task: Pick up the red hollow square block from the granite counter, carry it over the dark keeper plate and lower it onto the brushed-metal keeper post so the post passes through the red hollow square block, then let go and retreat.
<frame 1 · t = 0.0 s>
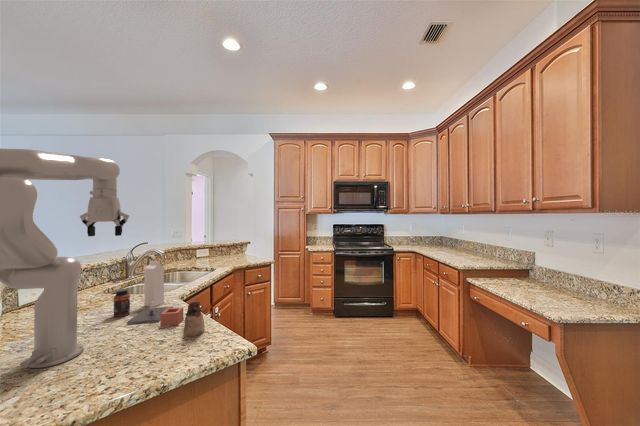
hand: (105, 235, 106), 37 cm above the counter, tool pointing down, fingers open, 9 cm apart
keeper: (151, 315, 116), on the counter
supplement bottle: (122, 315, 117), on the counter
red hollow square block: (172, 322, 108), on the counter
milk: (154, 304, 131), on the counter
figurine: (194, 333, 98), on the counter
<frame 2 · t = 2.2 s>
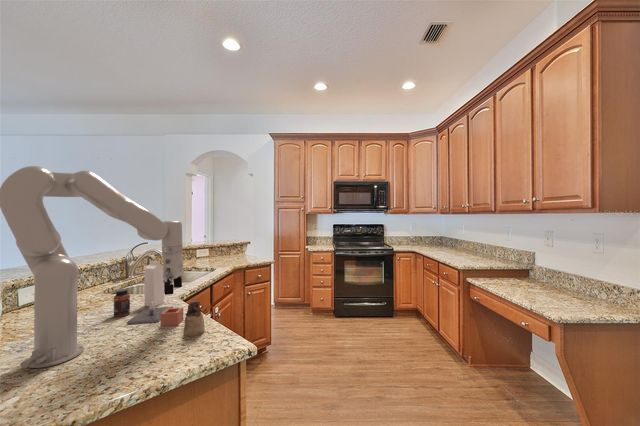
hand: (173, 290, 109), 13 cm above the counter, tool pointing down, fingers open, 9 cm apart
nothing on the counter moved.
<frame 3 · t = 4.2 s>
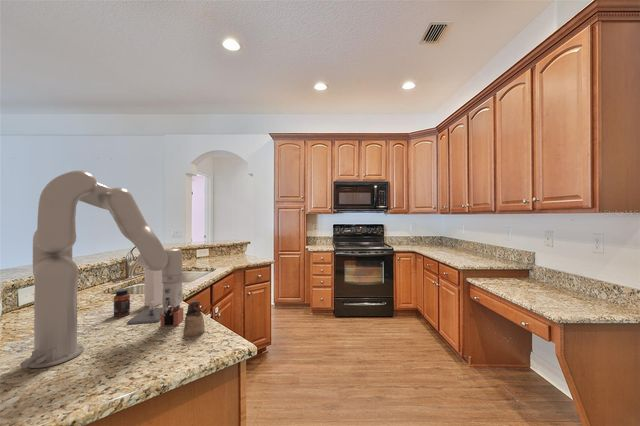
hand: (172, 320, 108), 1 cm above the counter, tool pointing down, fingers closed on red hollow square block, 6 cm apart
red hollow square block: (172, 322, 108), on the counter, touching gripper
everything else where it was.
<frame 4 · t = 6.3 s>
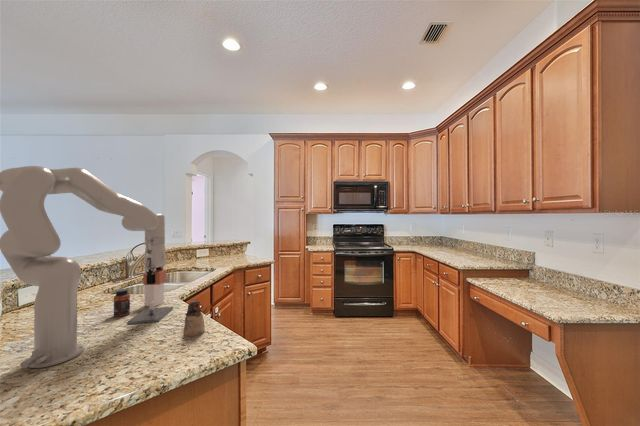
hand: (155, 281, 115), 16 cm above the counter, tool pointing down, fingers closed on red hollow square block, 6 cm apart
red hollow square block: (155, 282, 115), point 15 cm above the counter, touching gripper
everything else where it was.
when the fingers open (4 cm above the counter, at t = 8.7 s): red hollow square block drops 2 cm, resting on keeper.
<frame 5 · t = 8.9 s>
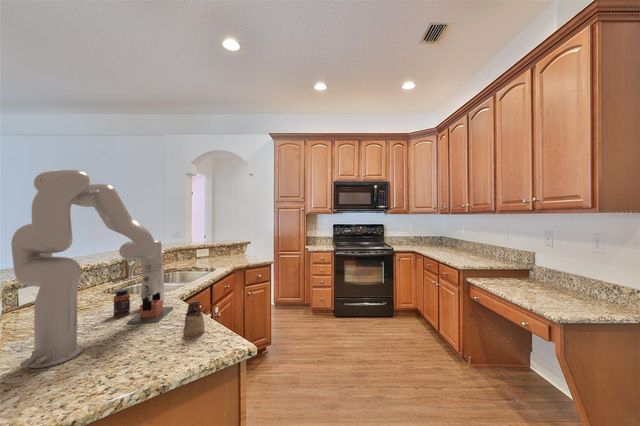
hand: (151, 306, 116), 4 cm above the counter, tool pointing down, fingers open, 8 cm apart
red hollow square block: (151, 313, 116), point 1 cm above the counter, touching keeper
everything else where it was.
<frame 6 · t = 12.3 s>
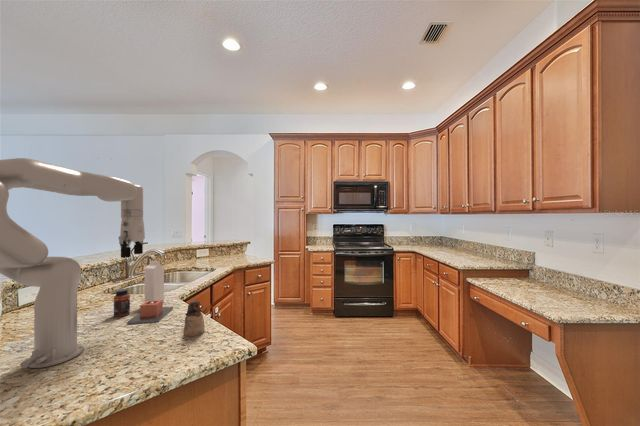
hand: (132, 255, 108), 28 cm above the counter, tool pointing down, fingers open, 9 cm apart
nothing on the counter moved.
at the end: red hollow square block 0.2 cm off-centre on the keeper, point 1.0 cm above the keeper's base; the gripper is holding nothing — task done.
